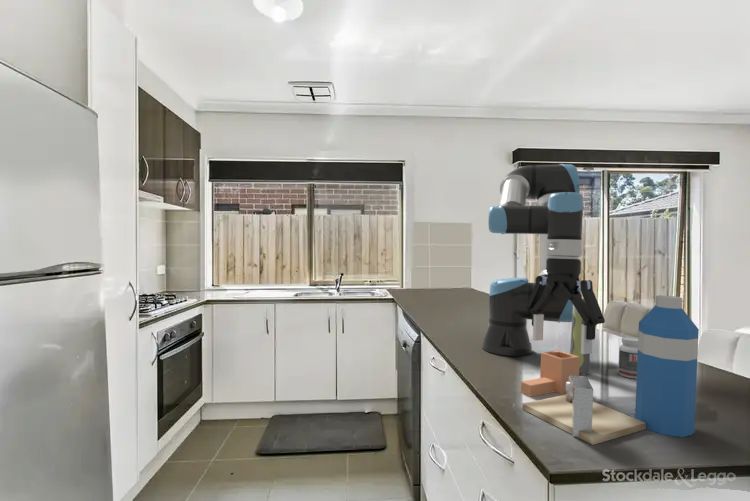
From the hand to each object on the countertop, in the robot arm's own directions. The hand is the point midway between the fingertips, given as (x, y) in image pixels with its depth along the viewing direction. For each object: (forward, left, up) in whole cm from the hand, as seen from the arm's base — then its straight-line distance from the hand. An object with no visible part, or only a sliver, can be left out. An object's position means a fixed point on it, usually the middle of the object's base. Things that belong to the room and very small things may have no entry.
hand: (560, 346), depth 97 cm
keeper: (+16, -14, -10) cm, 24 cm away
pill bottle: (+1, +26, -10) cm, 28 cm away
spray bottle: (-6, +15, -10) cm, 19 cm away
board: (+14, -10, -10) cm, 20 cm away
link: (0, -4, -10) cm, 11 cm away
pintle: (+9, -7, -9) cm, 14 cm away
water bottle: (+22, +2, -10) cm, 25 cm away
